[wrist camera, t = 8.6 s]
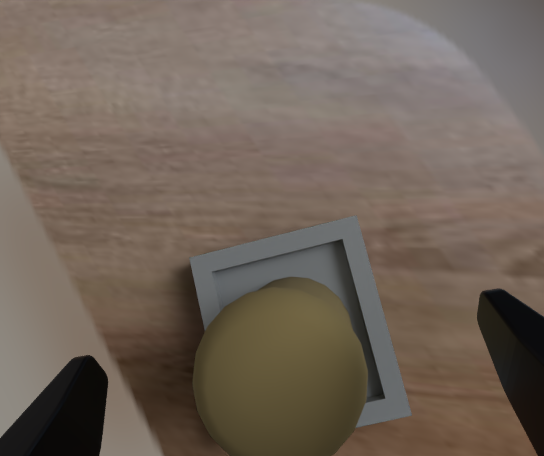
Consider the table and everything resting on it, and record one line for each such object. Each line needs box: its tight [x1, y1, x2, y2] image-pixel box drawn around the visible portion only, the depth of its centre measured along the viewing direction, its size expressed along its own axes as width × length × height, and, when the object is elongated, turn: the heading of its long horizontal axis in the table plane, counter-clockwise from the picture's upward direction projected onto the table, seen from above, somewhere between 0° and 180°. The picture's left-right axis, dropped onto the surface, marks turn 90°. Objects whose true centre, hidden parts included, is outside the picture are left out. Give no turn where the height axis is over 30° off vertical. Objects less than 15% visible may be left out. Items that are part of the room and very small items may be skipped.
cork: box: [192, 277, 368, 456], centre depth 16 cm, size 6×6×11 cm
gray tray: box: [189, 215, 412, 428], centre depth 22 cm, size 10×9×2 cm
